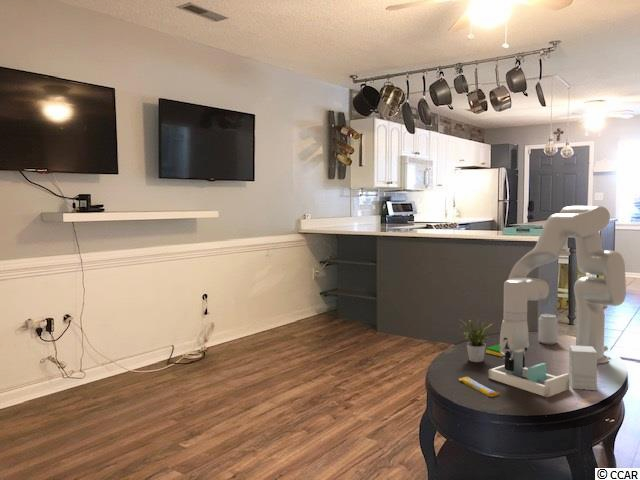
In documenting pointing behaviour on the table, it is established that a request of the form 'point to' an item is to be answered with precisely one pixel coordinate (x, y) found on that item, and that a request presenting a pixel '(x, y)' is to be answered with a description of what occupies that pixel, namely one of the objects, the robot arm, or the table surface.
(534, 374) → the pusher
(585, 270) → the robot arm
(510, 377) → the frame
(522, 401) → the table surface
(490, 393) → the candy bar
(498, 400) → the table surface
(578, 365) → the supplement box
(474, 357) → the house plant
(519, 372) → the jar
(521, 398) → the table surface
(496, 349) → the dish sponge
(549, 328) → the can
